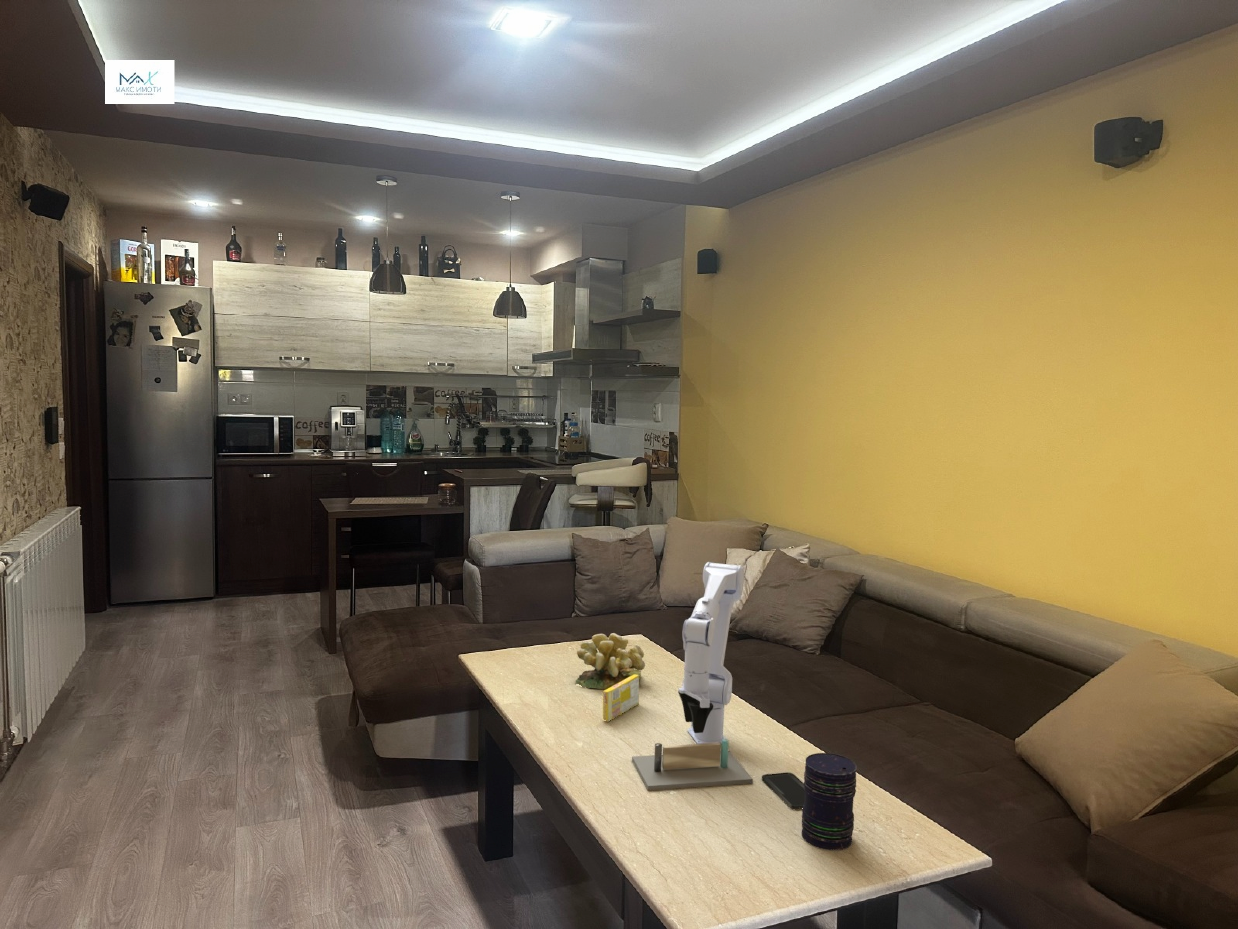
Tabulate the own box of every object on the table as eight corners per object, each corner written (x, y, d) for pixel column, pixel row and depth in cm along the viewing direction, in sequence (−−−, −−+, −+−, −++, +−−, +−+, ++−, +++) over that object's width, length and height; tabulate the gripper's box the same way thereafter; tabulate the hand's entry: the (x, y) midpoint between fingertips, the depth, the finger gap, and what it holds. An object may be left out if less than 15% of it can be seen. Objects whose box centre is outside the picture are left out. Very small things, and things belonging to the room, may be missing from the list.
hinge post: (653, 773, 189) (654, 743, 189) (659, 773, 190) (661, 743, 189) (654, 776, 188) (656, 746, 187) (661, 776, 188) (662, 746, 188)
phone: (791, 772, 191) (825, 803, 177) (791, 776, 191) (825, 808, 177) (759, 775, 189) (791, 806, 174) (759, 780, 189) (791, 812, 175)
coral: (560, 679, 256) (557, 633, 253) (628, 662, 265) (625, 617, 262) (584, 705, 239) (581, 657, 236) (655, 686, 248) (653, 639, 245)
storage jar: (790, 836, 164) (794, 762, 163) (818, 819, 171) (822, 748, 170) (835, 857, 157) (840, 779, 156) (862, 839, 164) (866, 765, 163)
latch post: (719, 769, 193) (720, 739, 192) (725, 769, 193) (727, 739, 192) (721, 772, 191) (722, 742, 191) (728, 772, 191) (729, 742, 191)
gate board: (631, 760, 196) (632, 756, 196) (729, 754, 201) (729, 750, 201) (647, 790, 181) (647, 786, 181) (752, 783, 186) (752, 779, 186)
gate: (662, 767, 189) (662, 746, 189) (718, 764, 192) (719, 742, 192) (663, 769, 188) (664, 748, 188) (719, 766, 191) (720, 744, 191)
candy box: (632, 702, 233) (633, 673, 233) (639, 704, 232) (640, 675, 231) (601, 721, 219) (602, 690, 219) (608, 723, 218) (609, 691, 218)
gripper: (671, 660, 201) (669, 715, 202) (689, 681, 187) (686, 740, 188) (699, 659, 202) (697, 714, 203) (719, 679, 188) (716, 738, 189)
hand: (694, 726), depth 196 cm, fingers open, 6 cm apart
